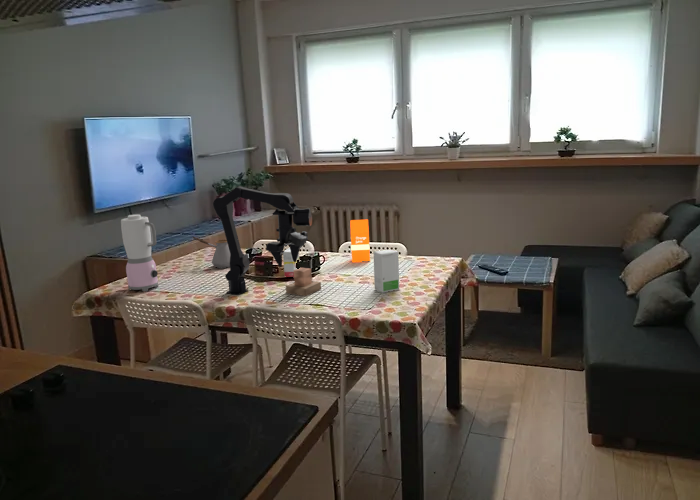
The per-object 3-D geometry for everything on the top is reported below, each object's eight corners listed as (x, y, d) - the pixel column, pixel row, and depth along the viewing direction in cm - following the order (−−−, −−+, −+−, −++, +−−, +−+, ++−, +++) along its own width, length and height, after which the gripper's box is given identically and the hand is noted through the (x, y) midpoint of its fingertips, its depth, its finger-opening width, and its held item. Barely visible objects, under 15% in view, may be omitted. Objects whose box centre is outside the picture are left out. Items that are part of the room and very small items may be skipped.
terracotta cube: (294, 284, 224) (293, 270, 222) (302, 281, 228) (301, 267, 226) (304, 286, 221) (303, 271, 220) (311, 283, 225) (311, 268, 224)
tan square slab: (286, 293, 224) (285, 285, 223) (301, 286, 232) (301, 279, 231) (306, 296, 218) (305, 288, 218) (321, 289, 226) (320, 282, 226)
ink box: (294, 278, 246) (292, 251, 243) (284, 277, 247) (282, 251, 244) (300, 273, 254) (299, 247, 251) (290, 272, 255) (288, 247, 252)
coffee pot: (239, 263, 278) (236, 234, 275) (230, 269, 267) (227, 238, 264) (200, 263, 283) (197, 234, 280) (189, 269, 272) (186, 239, 269)
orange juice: (370, 261, 268) (368, 220, 264) (351, 262, 269) (349, 221, 264) (369, 257, 276) (368, 218, 272) (352, 258, 276) (350, 218, 272)
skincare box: (382, 293, 216) (380, 254, 213) (373, 289, 222) (372, 251, 219) (400, 289, 220) (399, 251, 217) (391, 285, 226) (390, 248, 222)
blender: (122, 291, 238) (111, 217, 231) (141, 283, 249) (131, 213, 243) (153, 293, 233) (143, 217, 226) (170, 285, 244) (161, 213, 237)
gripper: (286, 231, 207) (289, 272, 211) (316, 223, 223) (317, 261, 226) (264, 229, 213) (266, 268, 216) (294, 221, 228) (295, 258, 232)
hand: (287, 264), depth 223 cm, fingers open, 9 cm apart
